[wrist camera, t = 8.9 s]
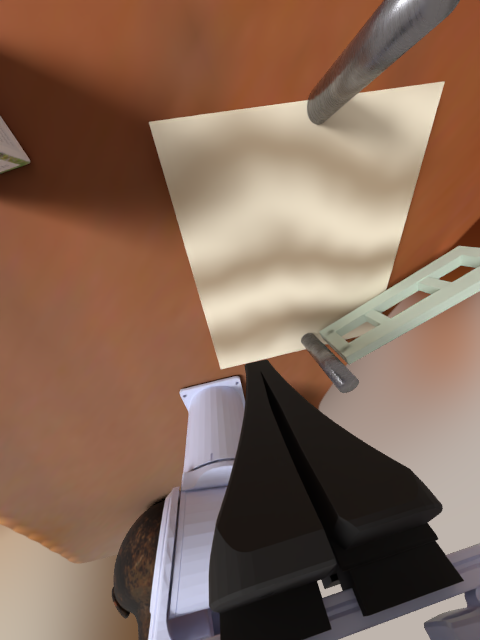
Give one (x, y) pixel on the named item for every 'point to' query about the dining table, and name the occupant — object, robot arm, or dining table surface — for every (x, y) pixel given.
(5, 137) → the syrup box
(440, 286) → the gate
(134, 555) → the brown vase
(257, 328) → the board
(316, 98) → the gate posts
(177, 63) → the dining table surface
